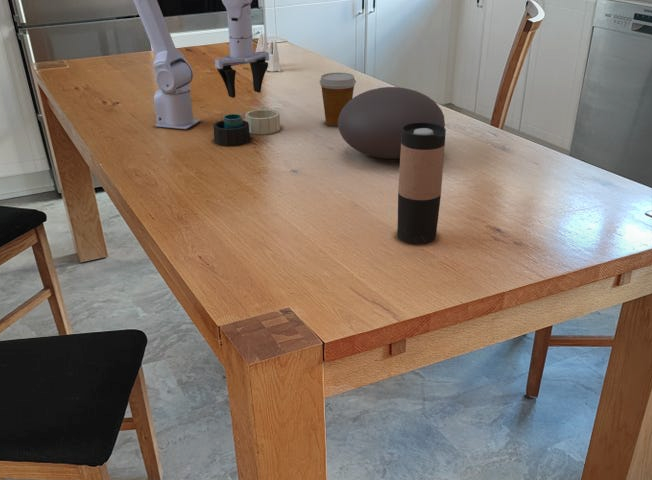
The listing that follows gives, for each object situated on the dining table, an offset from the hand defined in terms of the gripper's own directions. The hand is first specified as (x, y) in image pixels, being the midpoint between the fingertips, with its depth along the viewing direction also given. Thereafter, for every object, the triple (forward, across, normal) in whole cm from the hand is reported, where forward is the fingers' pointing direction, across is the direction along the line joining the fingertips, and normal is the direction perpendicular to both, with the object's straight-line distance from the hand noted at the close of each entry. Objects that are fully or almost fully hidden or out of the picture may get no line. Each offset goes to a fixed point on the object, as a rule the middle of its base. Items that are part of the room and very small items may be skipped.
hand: (244, 94), depth 183 cm
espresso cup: (+9, -7, -5) cm, 12 cm away
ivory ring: (+9, +4, -1) cm, 10 cm away
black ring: (+9, -7, -4) cm, 12 cm away
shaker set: (+10, +43, +55) cm, 70 cm away
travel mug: (+10, -10, -75) cm, 76 cm away
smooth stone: (+10, +17, -37) cm, 42 cm away
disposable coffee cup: (+10, +23, -9) cm, 26 cm away
